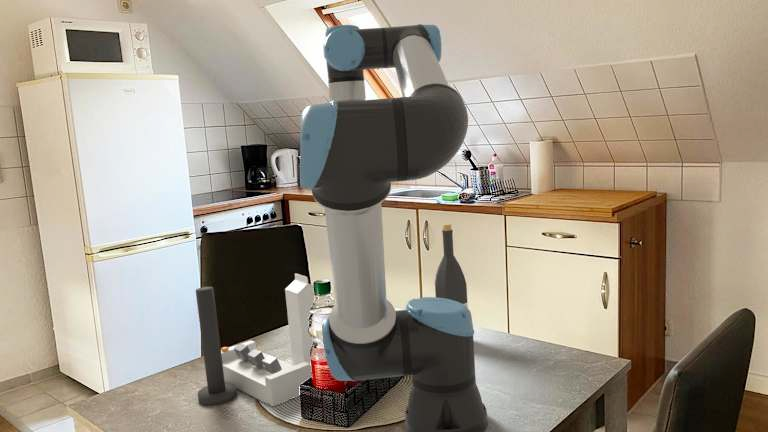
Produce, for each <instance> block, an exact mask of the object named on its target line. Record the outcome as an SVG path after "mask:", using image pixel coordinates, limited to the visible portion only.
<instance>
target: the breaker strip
mask: <svg viewBox="0 0 768 432" xmlns="http://www.w3.org/2000/svg"><path fill="white" fill-rule="evenodd" d="M242 344H244V345H246V346H248V348H249V350H250V352H251V351H252V350H253V349H256V350H257V343H256V341H253V340H248V341H245V342H242ZM237 345H238V344H235V345H233V346H230V347H229V346H223V347H221V356H222V364H223V372H224V381H225V383H232V384H234V385H235V386H236V390H237V389H238V390H240V391H241V392H243V393H246V394H247V395H249V396H250V397H253V398H255V399H256V400H258V399H260V400H262V401H264V402H266V403H268V404H270V405H271V406H270V405H269V406H270V407H272V406H275V405H277V404H279V403H282V402H284V401H287V400H289V399H291V398H293V397H296V396H298V395H299V386H300V384H301V383H302V382H304V381H305V380H307V379H308V378H310V377H312V370H311V367H310V364H309V363H307V362H303V363H300V364H298V365H295V366H294V365H293V364H291V363H289V362H287V361H283V360H281V359H278V358H277V360H278V362H279V364H280V366H281V368H282V370H280V371H279V372H277V373H274V374H272V373H269V372H267V370H266V369H265V368H262V367H261V368H258V367H256V366H254V365H252V363H251V362H249V361H246V362H245V361H243V360H241V359H239V358H238V356H237V354H236V352H235V350H234V348H235V347H236V346H237ZM262 354H263V356H264V358H266V357H267V356H268V355H269V354H267V353H265V352H262ZM296 398H297V397H296ZM260 400H259V401H260ZM262 401H261V402H262ZM289 401H290V400H289ZM264 402H263V403H264ZM287 402H288V401H287ZM266 403H265V404H266ZM284 403H285V402H284ZM268 404H267V405H268ZM282 404H283V403H282ZM277 406H278V405H277ZM275 407H276V406H275Z"/></svg>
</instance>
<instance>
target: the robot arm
mask: <svg viewBox="0 0 768 432" xmlns="http://www.w3.org/2000/svg"><path fill="white" fill-rule="evenodd" d="M323 56H324V59H325V61H326V68H327V69H326V70H327V78H328V79H327V80H328V99H329V102H325V103H324V102H323V103H318V104H317V103H316V104H311V105H309V106H306V107H305V109H304V110H303V111H302V113H301V119H300V149H299V154H300V156H299V186H300V188H302V189H305V190H308V191H309V190H311V194H312V197H313V199H314V201H315V202H316V203H317V204H318V205H319V206H321V207H322V208H324V216H325V222H326V233H327V239H328V240H327V241H328V247H329V256H330V257H329V258H330V264H331V265H330V266H331V273H332V283H333V290H334V298H335V305H334V306H333V307H332V308H331V311H330V313H329V316H326V317H325V318H324V319H323V325H322V335H323V344H324V349H325V356H326V361H327V367H328V369H329V372H330V374H331V376H332V378H334V379H335V380H336V381H338V382H339V381H340V382H343V381H345V382H347V381H351V382H358V381H366V380H374V379H375V380H376V379H384V378H394V377H405V376H406V377H407V376H411V389H410V394H409V395H408V396H409V397H408V401H407V407H406V408H405V410H404V411H405V412H404V413H405V414H404V421H405V422H404V424H405V429H406V430H407V432H485V431H486V430H487V428H488V412H487V407H486V405H485V404H484V403H483V401H482V396H481V393H480V390H479V387H478V385H477V379H476V363H475V362H476V361H475V343H474V335H475V330H474V324H473V318H472V313H471V310H470V309H469V307H468V308H467V307H466V306H465V305H463V304H461V303H459V302H457V301H454V300H450V299H445V298H437V297H436V296H435V297H434V296H433V297H432V296H424V297H418V298H412V299H411V300H409V301H407V303H406V305H405V309H400V310H396V309H395V307H394V305H393V304H392V302H391V301H390V300H388V299H387V288H386V287H387V286H386V268H385V251H384V250H385V249H384V248H385V246H384V229H383V227H384V226H383V211H382V210H383V209H382V203H383V202H384V201H385V200H387V198H388V197H389V195H390V193H391V191H392V188H391V187H392V184H391V183H396V182H407V181H416V180H420V179H424V178H427V177H429V176H432V175H433V174H434V173H435V174H436V173H437V172H439V171H440V170H441V169H442V168H444V167H445V166H446V165H448V164H449V162H451V161H452V159H453V158H454V157H455V155H457V153H458V152H459V151H460V149H461V147H462V145H463V143H464V142H465V139H466V135H467V133H468V127H469V116H468V110H467V106H466V105H465V102H464V99H463V98H462V96H461V94H460V93H459V92H458V91H457V90H456V89H455V88H453V87H451V86H450V85H449V83H448V81H447V78H446V76H445V73H444V72H443V69H442V67H441V65H440V63H439V62H440V61H441V58H442V37H441V32H440V29H439V27H438V26H437V25H435V24H422V23H418V24H413V25H401V26H389V27H388V26H387V27H376V28H374V27H373V28H360V27H359V26H357V25H353V24H341V25H332V26H330V27H327V28H325V30H324V42H323ZM374 69H377V70H379V69H394V70H395V72H396V76H397V79H398V83H399V87H400V92H401V95H402V96H400V97H390V98H389V97H388V98H379V99H378V98H377V99H366V86H365V76H364V75H365V74H364V71H366V70H374Z"/></svg>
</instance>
